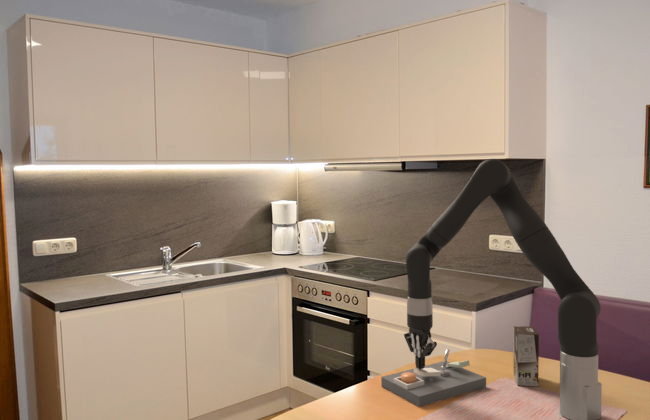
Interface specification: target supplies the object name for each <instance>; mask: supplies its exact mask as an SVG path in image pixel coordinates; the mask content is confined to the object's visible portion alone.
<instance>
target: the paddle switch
mask: <svg viewBox="0 0 650 420" xmlns="http://www.w3.org/2000/svg"><path fill="white" fill-rule="evenodd" d="M448 366H451V367H459V368H465V367H469V366H470V360H468V359H466V360H463V361H452V362H450V363H448Z"/></svg>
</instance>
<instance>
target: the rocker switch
mask: <svg viewBox="0 0 650 420" xmlns="http://www.w3.org/2000/svg"><path fill="white" fill-rule="evenodd" d="M413 369H414V371H413V372H414V373H416V374H418V375H420V376H423V377H426V376H441V372H440V371H438V370H436V369H433V368H423V369H418V368H416V367H414V368H413Z"/></svg>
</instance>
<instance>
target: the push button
mask: <svg viewBox="0 0 650 420" xmlns="http://www.w3.org/2000/svg"><path fill="white" fill-rule="evenodd" d="M401 381H402V382H404V383H406V384H410V383H413V382H416V374H414V373H410V372H406V373H402V374H401Z"/></svg>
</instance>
